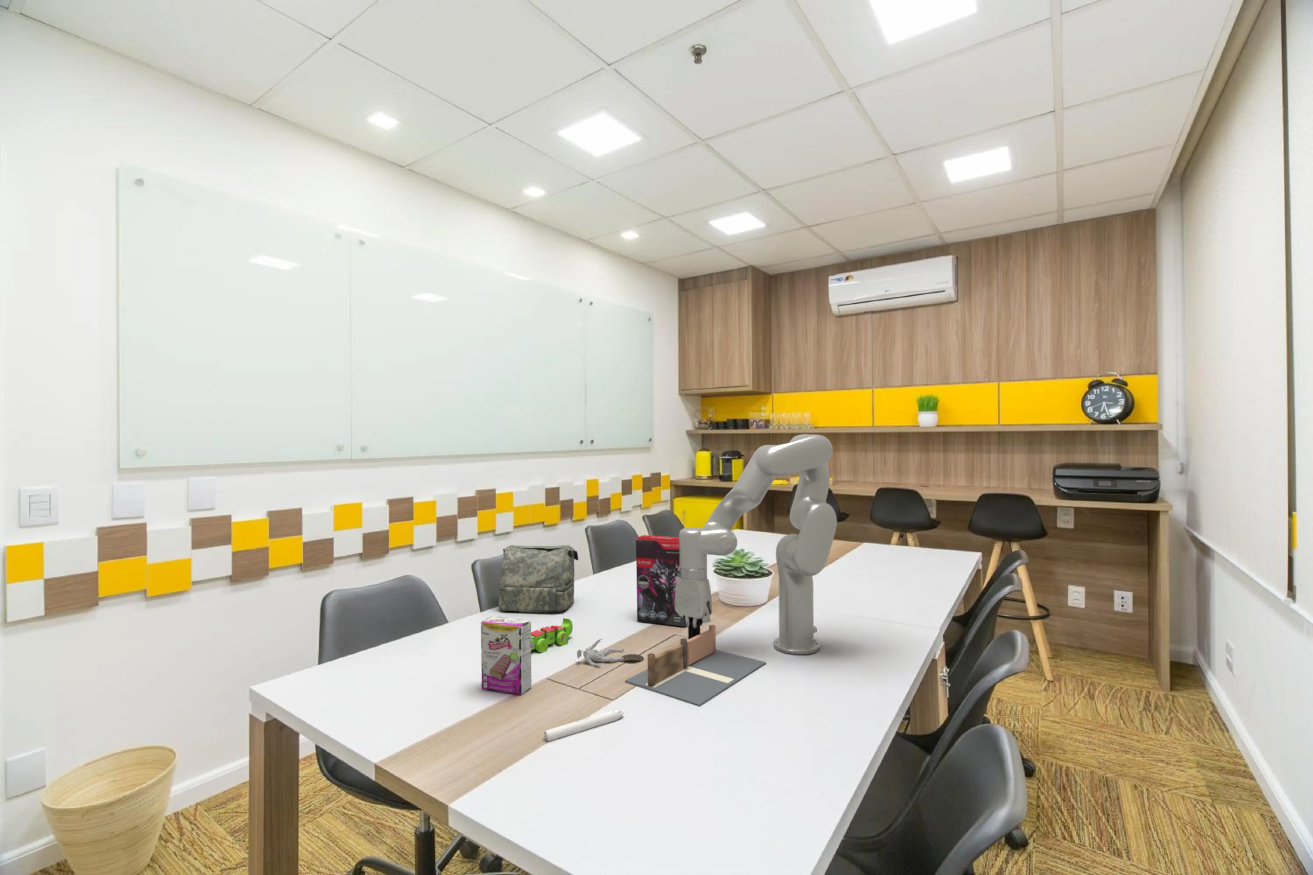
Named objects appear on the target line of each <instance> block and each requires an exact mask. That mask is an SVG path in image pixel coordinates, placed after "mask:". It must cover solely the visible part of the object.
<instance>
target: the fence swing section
mask: <svg viewBox="0 0 1313 875" xmlns="http://www.w3.org/2000/svg"><path fill="white" fill-rule="evenodd" d="M716 628H717V627H716V625H715V624H709V626H708V629H707V630H706V631H703V632H700V634H699V635H697V636H695V637H693V638H690V639H688V638H687V665H690V664H692V663H694V662H696V661H698V660H700V659H702V658H704V657H705V656H707V655H709V654H711V653H713V652H716V650H717V646H716V645H717V638H716V634H717V633H716V631H717V630H716Z"/></svg>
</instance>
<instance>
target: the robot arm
mask: <svg viewBox="0 0 1313 875" xmlns="http://www.w3.org/2000/svg"><path fill="white" fill-rule="evenodd" d="M833 451H834V448H833V445H832V442H831V441H830V439H828V438H827V437H826V436H824V435H821V434H807V433H806V434H805V433H803V434H798V435H795V436H793V437H792V438H791V439H790V440H789V442H787V443H781V444H775V445H774V444H765V445H761V446H759V447H758V448H757V449H756V450H755V451H754V453H753V454H752V456H751V457H750V459H749V461H748V463H747V465H746V466H745V468H744V469H743V471H742V472H741V474H740V476H739V477H738V480H736V482H735V483H734V485H733V487H732V489H730V491H729V492H728V493H726V495H725V496H724V497H723V499H722V500H721V501H719V503H718V504H717V506H716V507H715V508H714V509H713V511H712V513H711V514H710V516H709V518H708V519H707V521H706V523H705V524H704V526H703V528H701V527H695V526H693V527H684V528H682V529H680V531H679V533H678V537H679V554H680V566H679V567H678V571H680V577H678V579H677V583H676V590H675V611H676V612H677V613H678V615H680V616H681V617H683V618H684V619H685V621H686V627H687V633H688V634H687V640H688V639H690V638H693V637H695V636H697V635H699V634H701V626H703V624H704V623H705V624H707V623H710V622H711V615H712V612H713V600H712V592H711V591H712V590H711V584H710V580H709V579H708V555H711V556H712V555H713V556H718V557H719V556H728V555H731V554H732V553H734V552H735V550H736V549H737V546H738V538H737V536H736V534H735V533H734V531H732V529H733V528H734V526H735V525H736V523H737V522H738V520H740V518H741V517H742V516H744V514H746V513H747V512H750V511H751V510H753V509H755V508H757V507H758V506H759V505H760V504H761V503H762V501H763V499H764V497H765V496H766V494H767V493H768V491H769V489H770V488H771V486H772V484H773V482H774V481H775V479H776V477H777V478H782V477H783V478H784V477H787V476H791V475H795V474H798V482H797V487H796V490H795V495H794V497H793V502H792V504H791V508H790V513H789V521H790V523H791V525H792V527H794V528H796V529H797V530H799V532H798V534H796V533H790V534H789V533H788V534H785V536H783V537H782V538H780V540H778V542H777V545H776V548H775V560H776V566H777V574H778V637H777V638H775V639H774V640H773V647H774V649H776V650H778V651H779V652H782V653H786V654H790V655H811V654H814V653H817V652H818V651H819V650H820V648H821V647H820V643H819V642H818V641H817V640H816V639H814V638H815V636H814V635H815V633H817V632H818V628H817V626H815V625H814V578H813V577H814V576H817V575H819V573H821V572H822V571H823V570H824V568H825V566H826V564H827V563H828V562H827V561H828V559H829V555H830V552H831V549H832V545H833V542H834V538H835V534H836V530H837V526H838V520H837V514H836V511H835V509H834V508H833V506H832V505H831V504H829V503H827V497H828V492H829V488H830V483H831V482H830V481H831V475H830V469H829V466H828V464H827V463H828V462H829V461H830V460H831V458H832V456H833Z"/></svg>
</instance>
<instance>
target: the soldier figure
mask: <svg viewBox="0 0 1313 875" xmlns="http://www.w3.org/2000/svg"><path fill="white" fill-rule="evenodd" d="M601 640H602V641H603V638H599V639H598V640H596V641H595V642H593V644H592V645H590V646H588V647H586V648H585V650H581V649H577V651H576V655H577V656H576V658H577V659H578V660H579V659H580V657H583V658H584V660H585V662H587V663H588V664H589V665H590V666H592V667H597V668H600V667H601V665H602V664H601V663H607V662H612V663H613V662H618V661H620V662H624V657H614V656H609V655H611V654H615V653H621V654H623V653H624V652H625V651H624V650H625V648H624V647H623V648H622V649H617V648H613V647H610V648H608V649H605V650H604V651H599V650H598V649H595V648H596V647H597V645H598V644H599V643H601V642H602V641H601ZM593 661H594V662H593ZM595 662H598V663H595Z"/></svg>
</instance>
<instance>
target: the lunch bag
mask: <svg viewBox="0 0 1313 875" xmlns="http://www.w3.org/2000/svg"><path fill="white" fill-rule="evenodd" d="M502 551H503V559H502V564H501V570H500V578H499V581H498V610H500V611H502V612H505V611H519V612H518V613H545V612H556V613H561V612H563V611H566V610H568V609H569V608H570V607H571V606H573V604H574V602H575V598H574V597H575V561H579V555H578V551H577V550H576V549H575V548H573V547H572V546H571V545H569V544H566V545H565V544H564V545H515V544H514V545H513V544H510V545H508V546H506V547H505V548H502Z"/></svg>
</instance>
